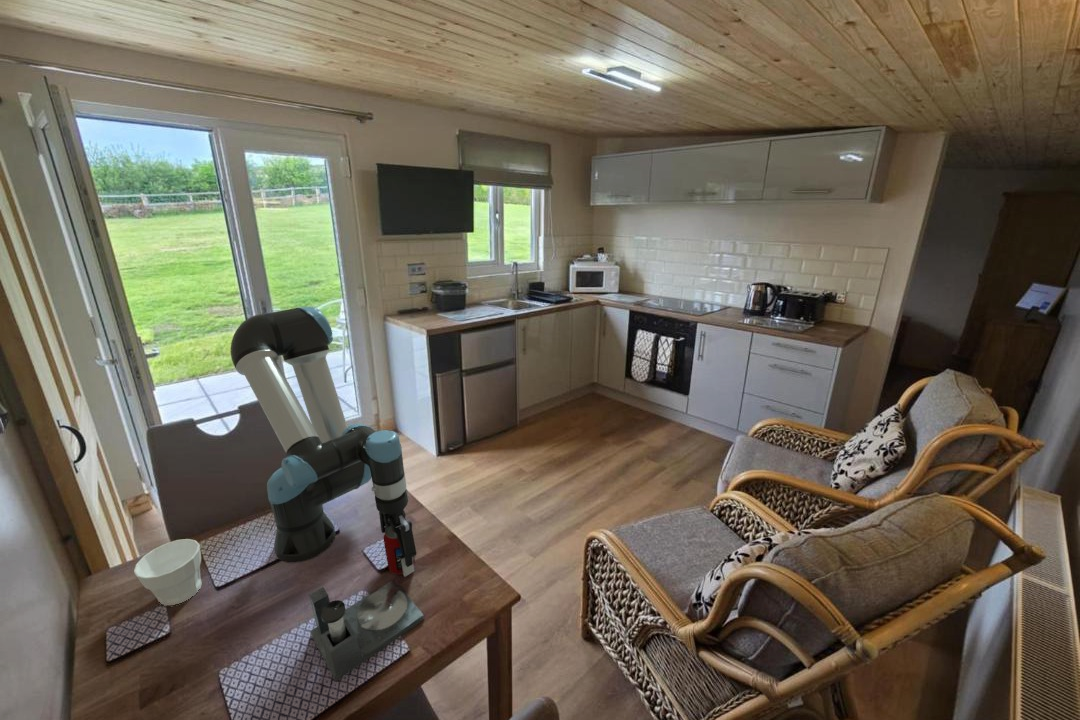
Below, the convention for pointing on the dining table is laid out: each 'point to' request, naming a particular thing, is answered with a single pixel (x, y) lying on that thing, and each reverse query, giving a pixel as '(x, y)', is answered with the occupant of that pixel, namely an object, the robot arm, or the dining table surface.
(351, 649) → the press
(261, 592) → the dining table surface
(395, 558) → the beverage can
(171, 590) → the cup
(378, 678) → the dining table surface
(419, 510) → the dining table surface
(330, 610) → the plunger
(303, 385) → the robot arm
